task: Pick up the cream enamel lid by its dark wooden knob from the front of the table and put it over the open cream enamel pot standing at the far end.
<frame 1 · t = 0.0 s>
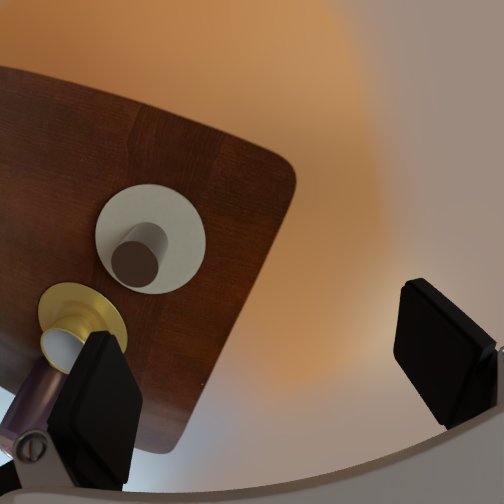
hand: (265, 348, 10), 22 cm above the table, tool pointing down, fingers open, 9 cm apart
beverage can: (55, 371, 35), on the table
lid: (149, 240, 30), point 1 cm above the table
cup: (81, 325, 33), on the table
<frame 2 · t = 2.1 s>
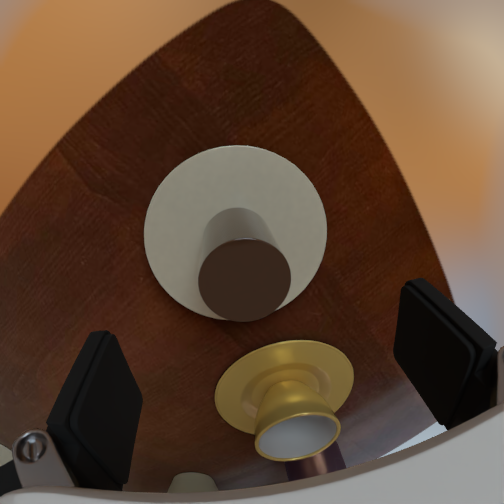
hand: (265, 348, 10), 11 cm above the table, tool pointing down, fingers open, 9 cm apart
pot: (5, 458, 28), on the table
beverage can: (309, 446, 29), on the table
lid: (236, 237, 19), point 1 cm above the table
cup: (285, 390, 25), on the table
mug: (202, 479, 30), on the table
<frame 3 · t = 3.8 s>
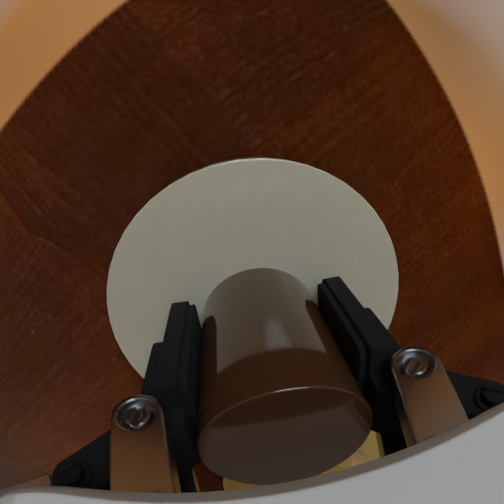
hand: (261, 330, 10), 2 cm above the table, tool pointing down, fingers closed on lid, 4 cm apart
lid: (257, 310, 12), point 1 cm above the table, touching gripper
cup: (310, 469, 18), on the table
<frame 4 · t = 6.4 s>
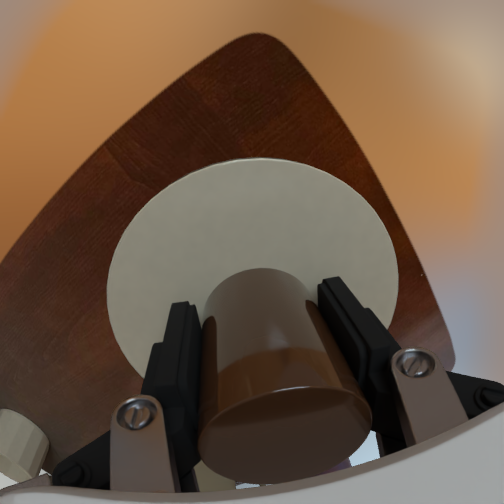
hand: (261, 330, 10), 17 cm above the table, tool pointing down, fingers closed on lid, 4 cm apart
pot: (23, 430, 35), on the table
lid: (257, 310, 12), point 15 cm above the table, touching gripper
mug: (208, 441, 36), on the table
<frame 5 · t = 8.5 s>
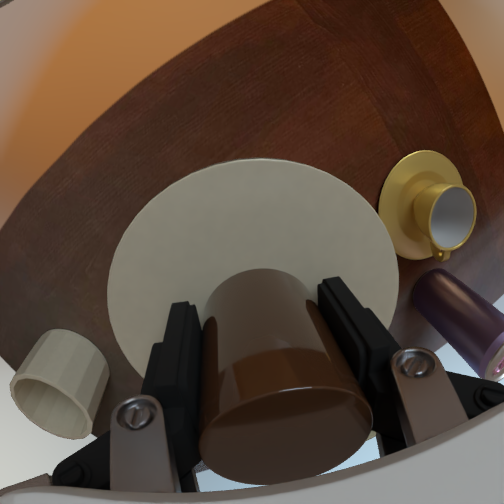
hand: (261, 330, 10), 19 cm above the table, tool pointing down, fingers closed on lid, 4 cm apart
pot: (72, 362, 33), on the table
beverage can: (429, 288, 34), on the table
lid: (258, 310, 12), point 18 cm above the table, touching gripper
cup: (422, 205, 30), on the table
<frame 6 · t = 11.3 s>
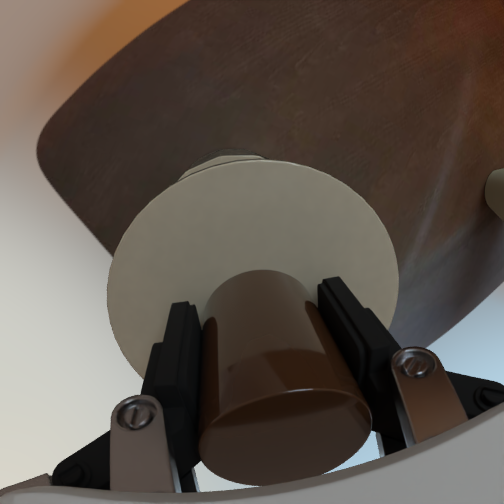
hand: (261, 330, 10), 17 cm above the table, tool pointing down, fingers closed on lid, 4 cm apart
pot: (233, 209, 27), on the table
lid: (257, 311, 12), point 16 cm above the table, touching gripper
mug: (500, 189, 29), on the table
when the fingers open (10 cm above the table, at t = 13.5 s): lid stays where it is, resting on pot.
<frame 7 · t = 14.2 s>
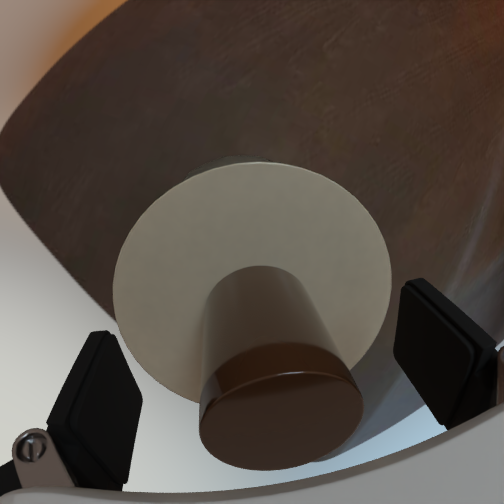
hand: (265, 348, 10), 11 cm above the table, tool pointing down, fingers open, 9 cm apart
pot: (241, 236, 20), on the table
lid: (256, 306, 12), point 8 cm above the table, touching pot
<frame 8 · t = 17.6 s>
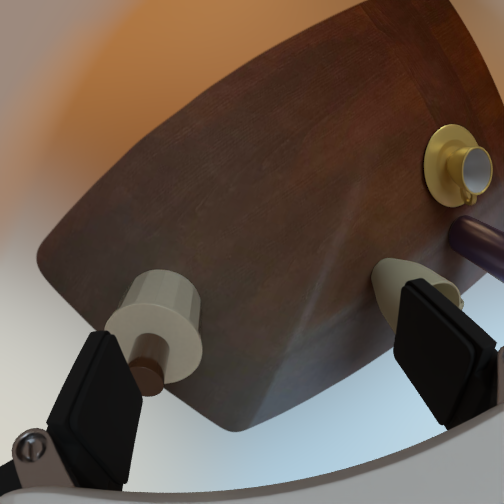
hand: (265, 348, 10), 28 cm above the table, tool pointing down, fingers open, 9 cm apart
pot: (162, 304, 40), on the table
beverage can: (459, 232, 41), on the table
lid: (152, 344, 32), point 8 cm above the table, touching pot
cup: (452, 165, 37), on the table
mug: (391, 271, 42), on the table
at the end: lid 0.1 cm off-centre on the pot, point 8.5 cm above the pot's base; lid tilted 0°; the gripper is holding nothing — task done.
